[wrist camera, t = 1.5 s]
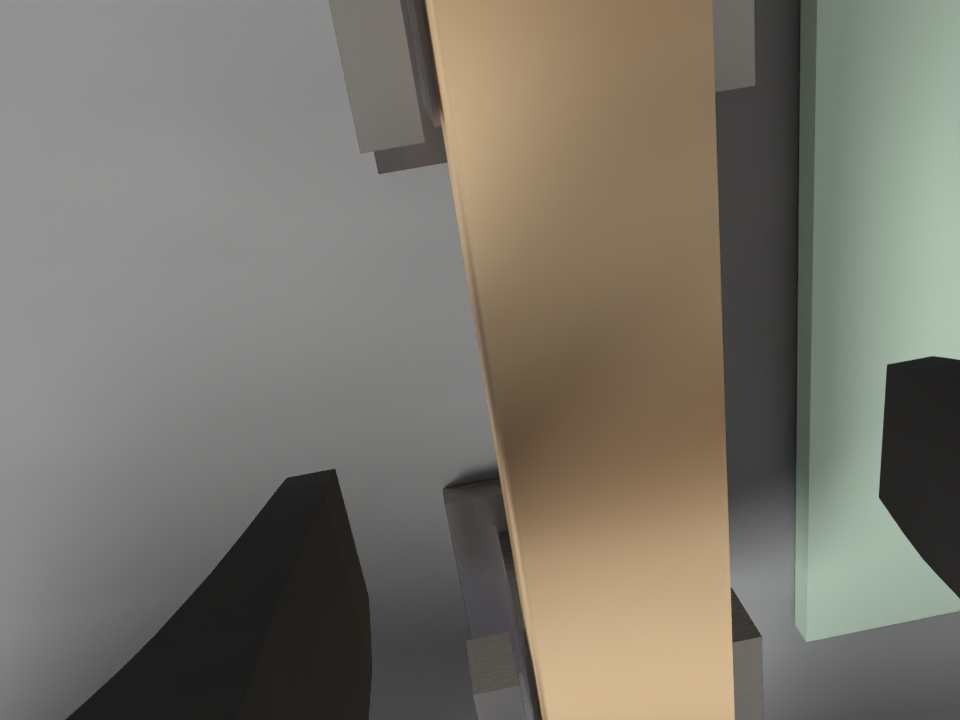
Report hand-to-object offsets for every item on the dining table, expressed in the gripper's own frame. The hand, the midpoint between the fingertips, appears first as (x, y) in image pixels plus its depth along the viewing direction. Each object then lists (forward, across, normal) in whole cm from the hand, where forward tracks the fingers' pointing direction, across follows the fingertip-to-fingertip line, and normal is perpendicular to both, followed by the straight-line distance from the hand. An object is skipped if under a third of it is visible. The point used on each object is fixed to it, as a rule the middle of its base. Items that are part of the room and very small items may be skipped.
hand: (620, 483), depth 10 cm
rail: (+3, 0, 0) cm, 3 cm away
